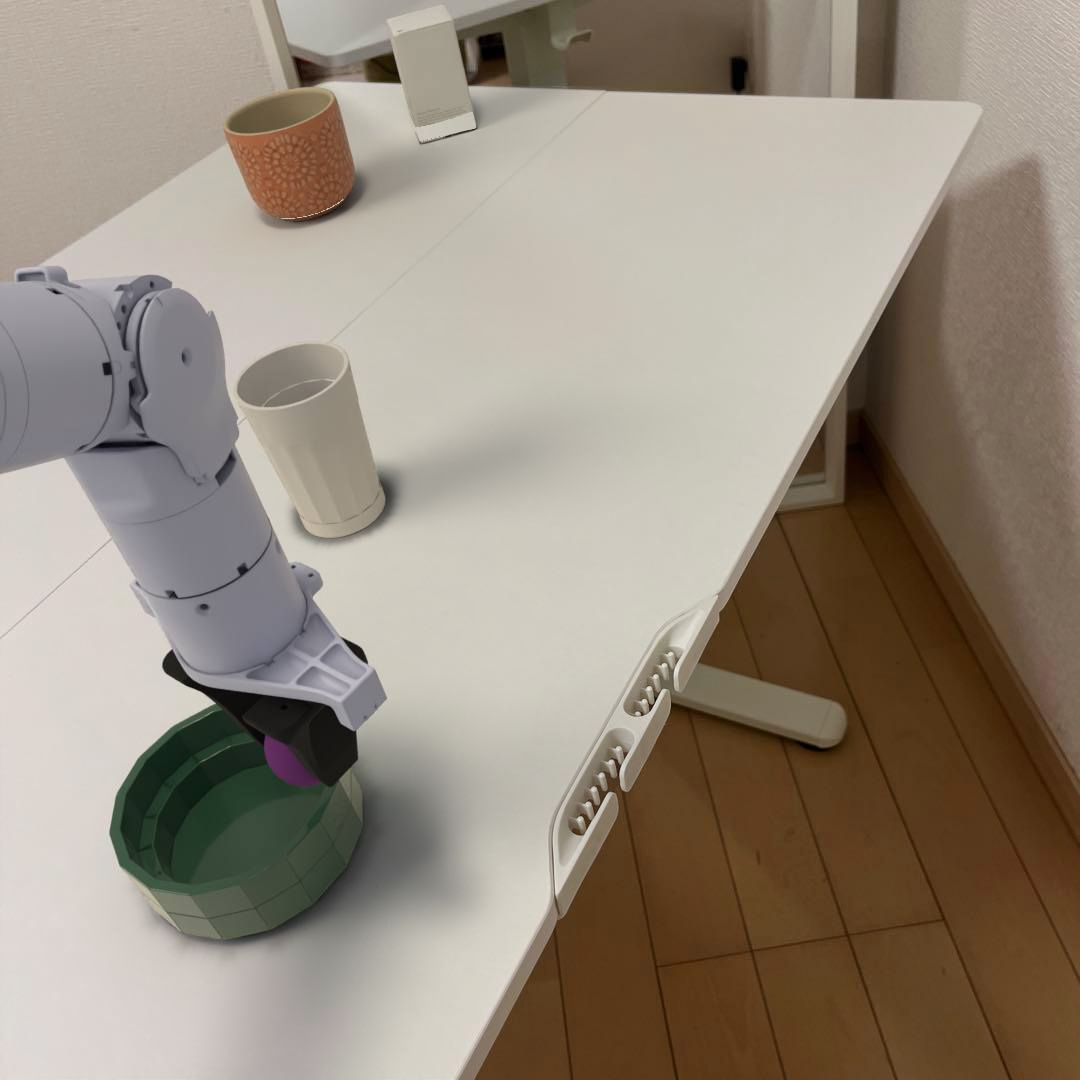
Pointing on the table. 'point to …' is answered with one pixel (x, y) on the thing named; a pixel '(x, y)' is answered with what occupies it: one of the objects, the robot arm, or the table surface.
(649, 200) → the table surface
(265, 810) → the bowl
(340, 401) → the cup
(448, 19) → the white packaging box
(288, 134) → the planter
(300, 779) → the ball
